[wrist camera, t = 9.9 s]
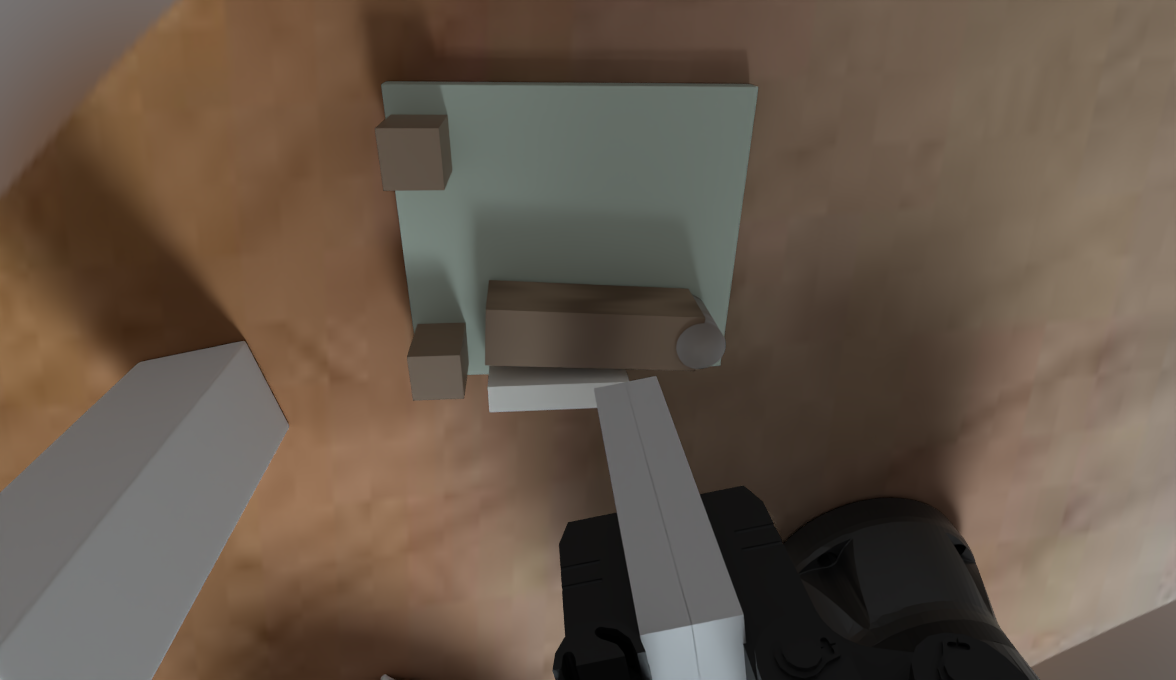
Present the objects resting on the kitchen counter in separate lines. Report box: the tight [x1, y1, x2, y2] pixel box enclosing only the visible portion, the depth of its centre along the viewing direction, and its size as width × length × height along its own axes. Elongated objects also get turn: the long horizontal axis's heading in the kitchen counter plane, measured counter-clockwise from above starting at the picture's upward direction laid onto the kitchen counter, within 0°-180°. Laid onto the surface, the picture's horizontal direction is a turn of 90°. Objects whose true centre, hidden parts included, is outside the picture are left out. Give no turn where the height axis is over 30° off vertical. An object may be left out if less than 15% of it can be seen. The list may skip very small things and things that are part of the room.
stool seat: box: [375, 81, 758, 412], centre depth 30 cm, size 17×15×5 cm
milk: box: [0, 341, 289, 680], centre depth 25 cm, size 6×6×22 cm
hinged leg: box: [485, 280, 726, 371], centre depth 32 cm, size 12×3×4 cm, turn 85°
